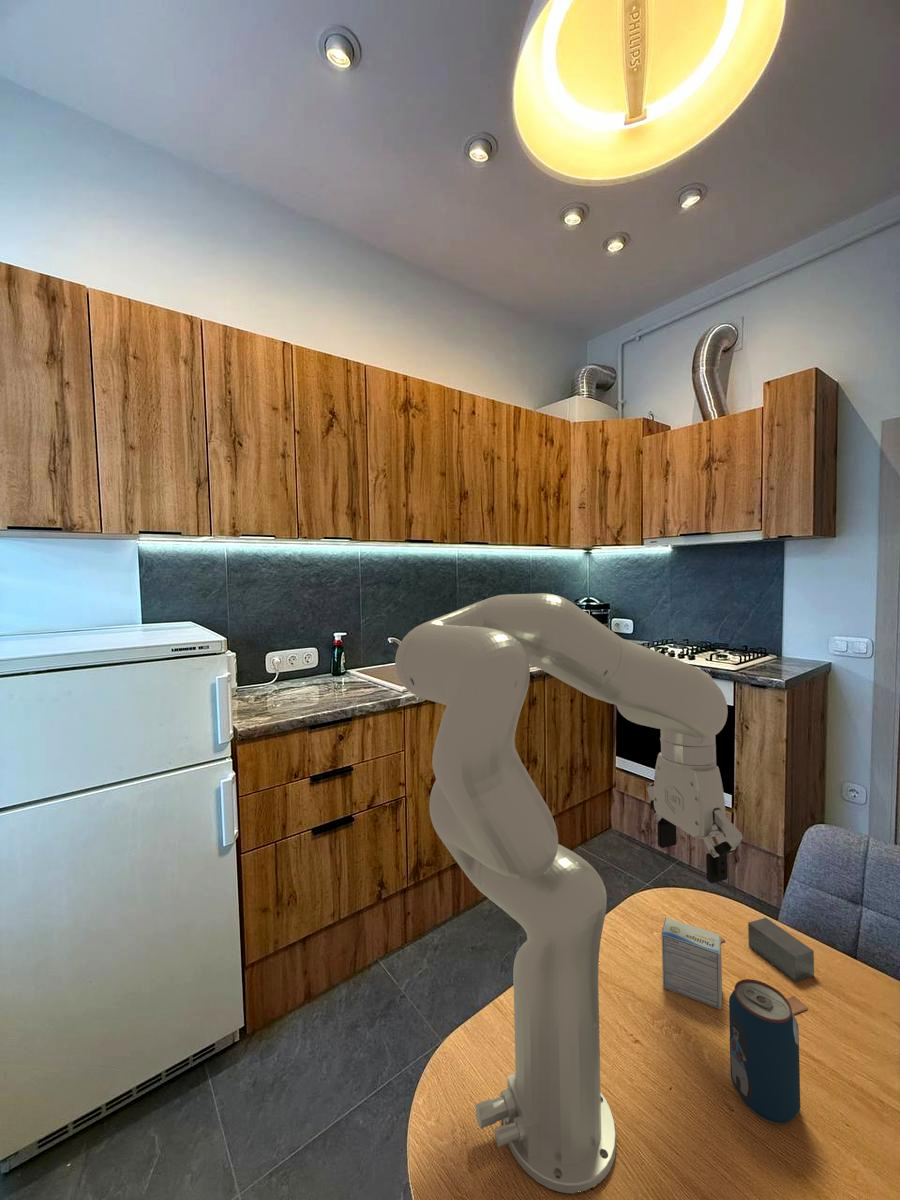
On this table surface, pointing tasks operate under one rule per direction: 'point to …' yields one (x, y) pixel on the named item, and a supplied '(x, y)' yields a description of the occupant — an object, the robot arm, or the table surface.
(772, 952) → the connector dock
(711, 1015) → the table surface
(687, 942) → the medicine box
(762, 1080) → the soda can
